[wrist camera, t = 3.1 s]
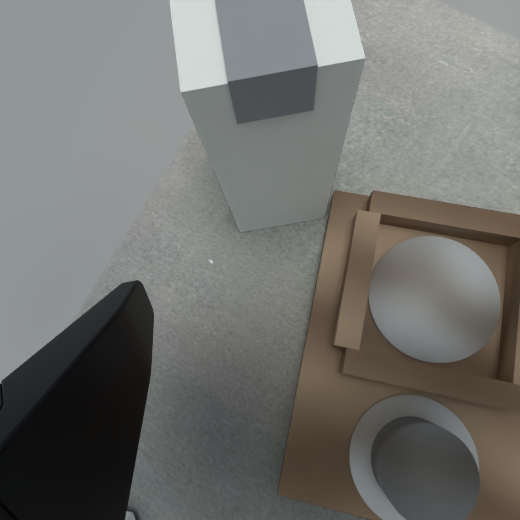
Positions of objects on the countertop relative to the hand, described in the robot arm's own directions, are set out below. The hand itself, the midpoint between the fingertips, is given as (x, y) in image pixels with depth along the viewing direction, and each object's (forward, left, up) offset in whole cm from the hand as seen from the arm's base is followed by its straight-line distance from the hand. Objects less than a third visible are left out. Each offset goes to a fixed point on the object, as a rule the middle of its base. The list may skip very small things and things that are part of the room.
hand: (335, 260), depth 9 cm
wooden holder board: (-1, -6, -13) cm, 15 cm away
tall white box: (+7, +3, -13) cm, 15 cm away
